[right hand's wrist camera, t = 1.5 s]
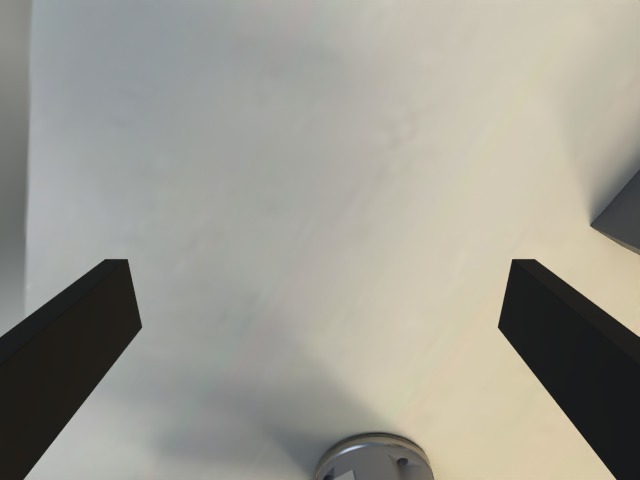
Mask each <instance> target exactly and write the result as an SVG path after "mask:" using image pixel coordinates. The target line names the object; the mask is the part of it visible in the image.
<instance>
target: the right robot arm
mask: <svg viewBox="0 0 640 480" xmlns="http://www.w3.org/2000/svg"><path fill="white" fill-rule="evenodd" d="M141 328H142V324H141V320H140V315H139V310H138V305H137V301H136V296H135V291H134V287H133V282H132V277H131V273H130V268H129V263H128V259H105V260H104V261H102V262H101V263H99V264H98V265H97V266H95V267H94V268H93V269H91V270H90V271H89V272H87V273H86V274H85V275H83V276H82V277H81V278H79V279H78V280H77V281H75V282H74V283H73V284H71V285H70V286H69V287H67V288H66V289H65V290H63V291H62V292H61V293H59V294H58V295H57V296H55V297H54V298H53V299H51V300H50V301H48V302H47V303H46V304H44V305H43V306H42V307H40V308H39V309H38V310H36V311H35V312H34V313H32V314H31V315H30V316H28V317H27V318H26V319H24V320H23V321H22V322H20V323H19V324H18V325H16V326H15V327H14V328H12V329H11V330H10V331H8V332H7V333H6V334H4V335H3V336H2V337H0V480H24V478H25V477H26V476H27V474H28V473H29V472H30V471H31V469H32V468H33V467H34V465H35V464H36V463H37V462H38V460H39V459H40V458H41V457H42V455H43V454H44V453H45V451H46V450H47V449H48V448H49V446H50V445H51V444H52V442H53V441H54V440H55V439H56V437H57V436H58V435H59V433H60V432H61V431H62V430H63V428H64V427H65V426H66V424H67V423H68V422H69V421H70V419H71V418H72V417H73V415H74V414H75V413H76V412H77V410H78V409H79V408H80V406H81V405H82V404H83V403H84V401H85V400H86V399H87V398H88V396H89V395H90V394H91V392H92V391H93V390H94V389H95V387H96V386H97V385H98V383H99V382H100V381H101V380H102V378H103V377H104V376H105V374H106V373H107V372H108V371H109V369H110V368H111V367H112V365H113V364H114V363H115V362H116V360H117V359H118V358H119V356H120V355H121V354H122V353H123V351H124V350H125V349H126V347H127V346H128V345H129V344H130V342H131V341H132V340H133V338H134V337H135V336H136V335H137V333H138V332H139V331H140V330H141ZM498 328H499V330H500V331H501V332H502V333H503V335H504V336H505V337H506V338H507V340H508V341H509V342H510V344H511V345H512V346H513V347H514V349H515V350H516V351H517V353H518V354H519V355H520V356H521V358H522V359H523V360H524V362H525V363H526V364H527V365H528V367H529V368H530V369H531V371H532V372H533V373H534V374H535V376H536V377H537V378H538V380H539V381H540V382H541V383H542V385H543V386H544V387H545V389H546V390H547V391H548V392H549V394H550V395H551V396H552V398H553V399H554V400H555V401H556V403H557V404H558V405H559V406H560V408H561V409H562V410H563V412H564V413H565V414H566V415H567V417H568V418H569V419H570V421H571V422H572V423H573V424H574V426H575V427H576V428H577V430H578V431H579V432H580V433H581V435H582V436H583V437H584V439H585V440H586V441H587V442H588V444H589V445H590V446H591V448H592V449H593V450H594V451H595V453H596V454H597V455H598V457H599V458H600V459H601V460H602V462H603V463H604V464H605V465H606V467H607V468H608V469H609V471H610V472H611V473H612V474H613V476H614V477H615V478H616V480H640V337H639V336H637V335H636V334H634V333H633V332H632V331H630V330H629V329H628V328H626V327H625V326H624V325H622V324H621V323H620V322H618V321H617V320H616V319H614V318H613V317H612V316H610V315H609V314H608V313H606V312H605V311H604V310H602V309H601V308H600V307H598V306H597V305H596V304H594V303H593V302H592V301H590V300H589V299H587V298H586V297H585V296H583V295H582V294H581V293H579V292H578V291H577V290H575V289H574V288H573V287H571V286H570V285H569V284H567V283H566V282H565V281H563V280H562V279H561V278H559V277H558V276H557V275H555V274H554V273H553V272H551V271H550V270H549V269H547V268H546V267H545V266H543V265H542V264H541V263H539V262H538V261H536V260H535V259H512V263H511V268H510V273H509V277H508V282H507V287H506V291H505V296H504V301H503V305H502V310H501V315H500V320H499V324H498ZM316 480H434V477H433V473H432V470H431V466H430V463H429V461H428V458H427V457H426V455H425V454H424V452H423V451H422V450H421V449H420V448H419V447H417V446H416V445H415V444H413V443H411V442H410V441H408V440H405V439H403V438H400V437H397V436H393V435H387V434H366V435H360V436H355V437H352V438H349V439H346V440H344V441H342V442H340V443H338V444H336V445H335V446H333V447H332V448H331V449H329V450H328V451H327V452H326V453H325V454H324V455H323V457H322V458H321V460H320V461H319V463H318V466H317V469H316Z"/></svg>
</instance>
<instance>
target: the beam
mask: <svg viewBox="0 0 640 480" xmlns="http://www.w3.org/2000/svg"><path fill="white" fill-rule="evenodd" d="M591 227H592V228H594V229H595V230H597V231H599V232H600V233H602V234H603V235H605V236H607V237H608V238H610V239H611V240H613V241H615V242H616V243H618V244H619V245H621V246H623V247H625V248H627V249H629V250H631V251H633V252H635V253H637V254H639V255H640V170H639V171H638V173H637V174H636V175H635V176H634V177H633V178H632V179H631V180H630V182H629V183H628V184H627V185H626V186H625V187H624V188H623V190H622V191H621V192H620V193H619V194H618V195H617V196H616V197H615V199H614V200H613V201H612V202H611V203H610V204H609V205H608V206H607V208H606V209H605V210H604V211H603V212H602V213H601V214H600V216H599V217H598V218H597V219H596V220H595V221H594V222H593V223H592V225H591Z"/></svg>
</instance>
